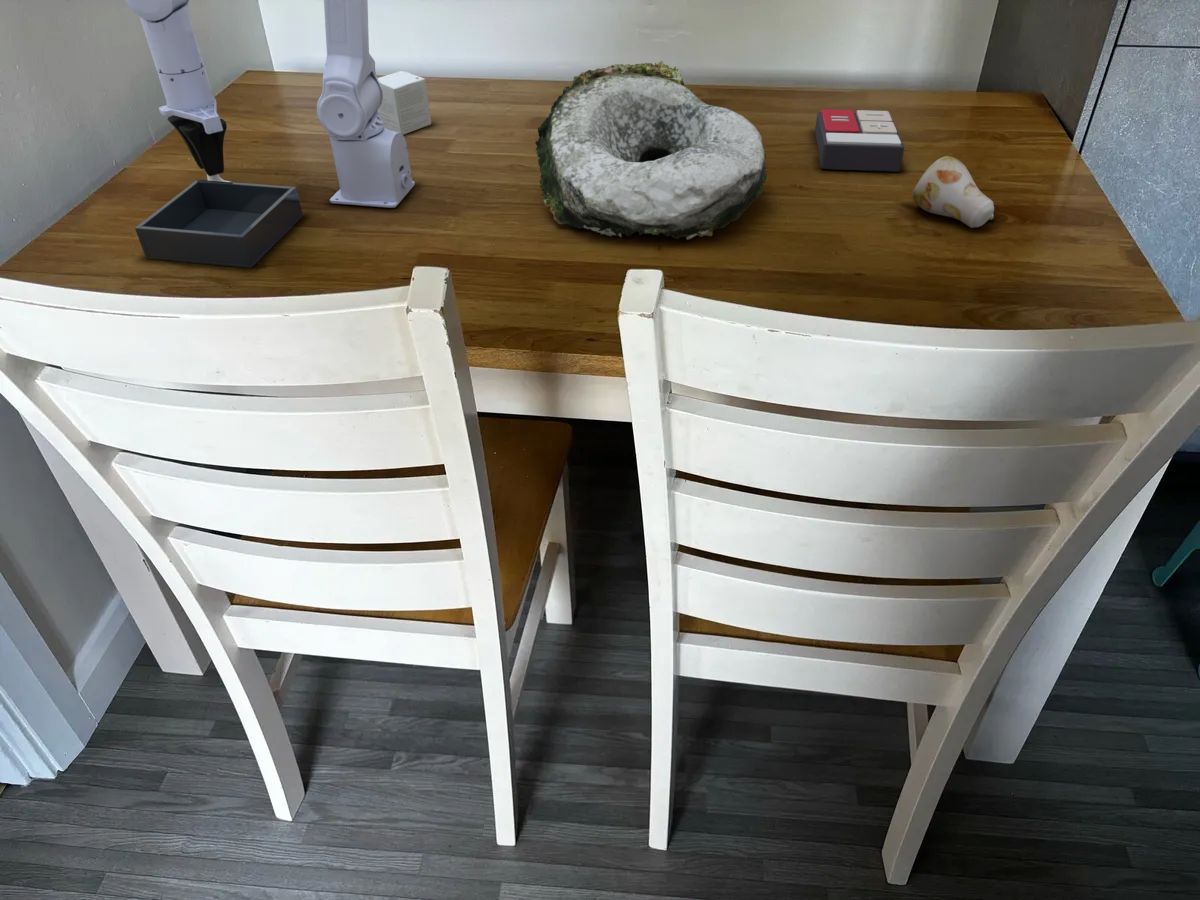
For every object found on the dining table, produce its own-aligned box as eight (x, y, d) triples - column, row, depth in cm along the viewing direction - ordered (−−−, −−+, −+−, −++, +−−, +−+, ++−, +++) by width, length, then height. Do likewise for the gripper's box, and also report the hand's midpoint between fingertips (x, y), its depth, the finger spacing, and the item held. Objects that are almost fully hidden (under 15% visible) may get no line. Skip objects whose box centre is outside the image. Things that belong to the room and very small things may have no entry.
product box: (409, 116, 148) (402, 69, 143) (432, 125, 144) (426, 78, 139) (378, 126, 144) (370, 79, 139) (401, 136, 141) (393, 88, 136)
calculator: (891, 108, 137) (906, 141, 125) (886, 137, 139) (900, 172, 127) (817, 106, 138) (825, 139, 126) (813, 134, 140) (820, 169, 128)
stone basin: (641, 88, 134) (665, -2, 121) (781, 221, 127) (823, 140, 114) (484, 164, 122) (493, 73, 108) (629, 316, 114) (657, 238, 101)
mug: (975, 243, 112) (950, 168, 108) (918, 245, 120) (893, 176, 117) (1016, 213, 114) (992, 138, 110) (957, 217, 122) (933, 148, 119)
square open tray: (303, 216, 120) (296, 186, 117) (251, 268, 109) (242, 237, 107) (206, 208, 122) (196, 179, 120) (146, 258, 112) (134, 227, 109)
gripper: (130, 60, 118) (164, 161, 126) (168, 88, 109) (201, 195, 118) (184, 49, 121) (214, 148, 130) (225, 76, 112) (253, 180, 121)
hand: (211, 170), depth 124 cm, fingers closed
